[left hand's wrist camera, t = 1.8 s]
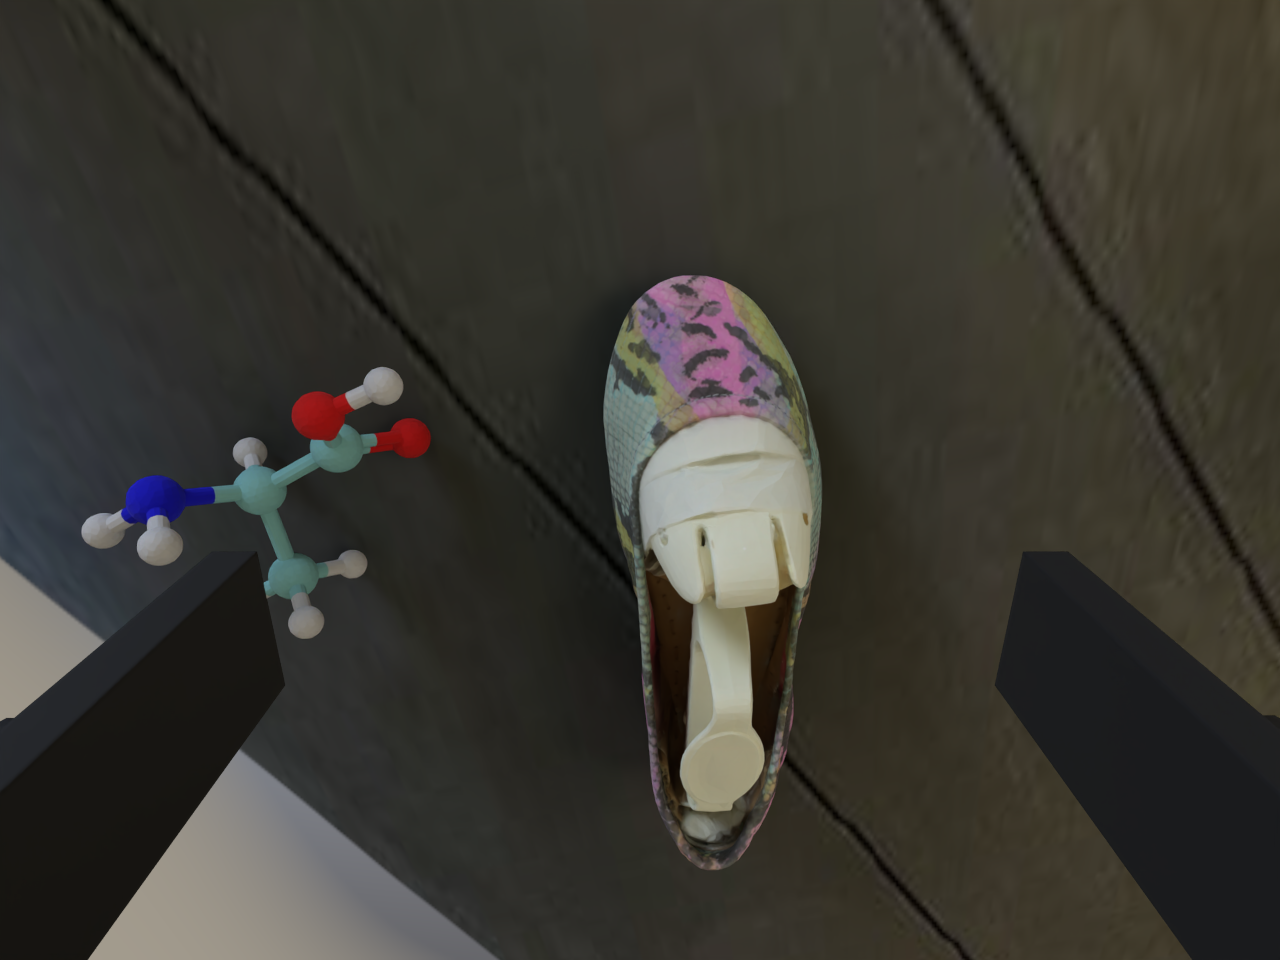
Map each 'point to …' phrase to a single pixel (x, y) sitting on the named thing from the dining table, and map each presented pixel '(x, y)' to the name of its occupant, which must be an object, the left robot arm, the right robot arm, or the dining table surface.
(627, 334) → the ballet flat
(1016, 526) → the dining table surface
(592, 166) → the dining table surface
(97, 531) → the molecular model
